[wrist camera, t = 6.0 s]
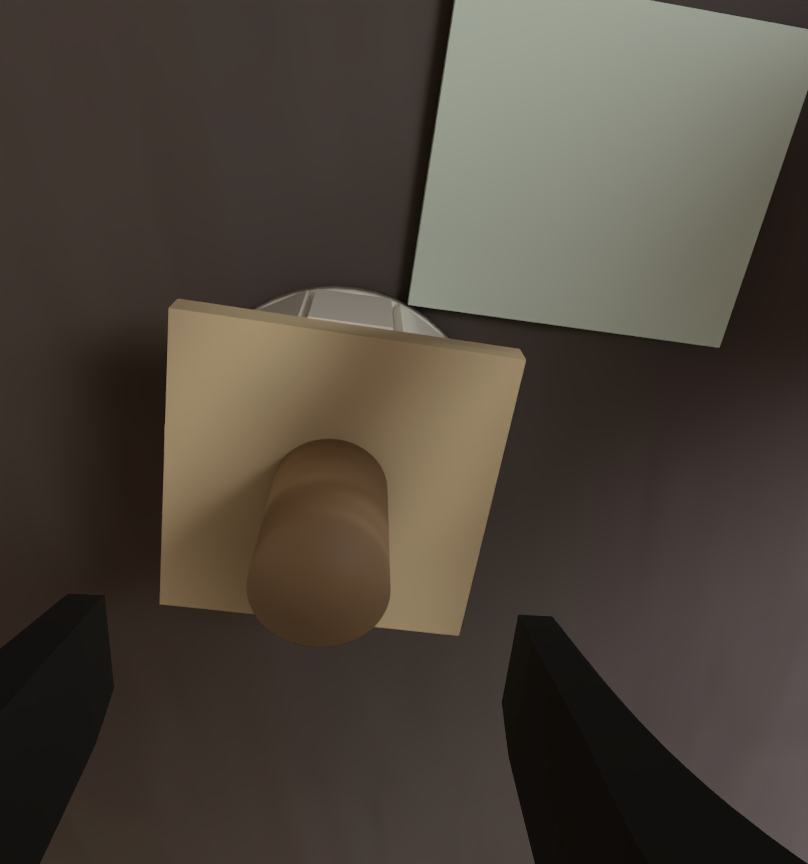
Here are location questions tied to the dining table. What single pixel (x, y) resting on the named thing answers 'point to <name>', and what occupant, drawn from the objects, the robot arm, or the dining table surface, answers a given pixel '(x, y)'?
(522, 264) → the plate
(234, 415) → the lid
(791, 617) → the dining table surface
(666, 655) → the dining table surface
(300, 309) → the bowl
